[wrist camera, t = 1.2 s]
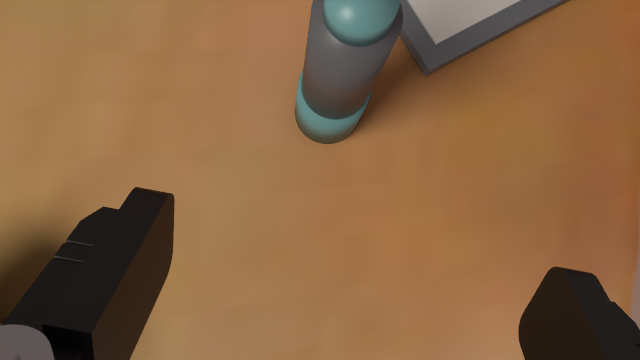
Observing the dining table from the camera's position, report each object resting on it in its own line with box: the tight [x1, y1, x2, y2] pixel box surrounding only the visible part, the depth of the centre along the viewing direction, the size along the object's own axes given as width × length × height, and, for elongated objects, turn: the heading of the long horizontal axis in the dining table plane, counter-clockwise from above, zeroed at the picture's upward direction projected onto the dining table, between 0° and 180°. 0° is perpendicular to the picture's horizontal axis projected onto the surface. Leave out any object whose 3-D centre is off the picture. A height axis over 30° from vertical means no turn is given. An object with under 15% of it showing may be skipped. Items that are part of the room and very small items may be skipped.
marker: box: [295, 0, 403, 144], centre depth 29 cm, size 5×5×16 cm
